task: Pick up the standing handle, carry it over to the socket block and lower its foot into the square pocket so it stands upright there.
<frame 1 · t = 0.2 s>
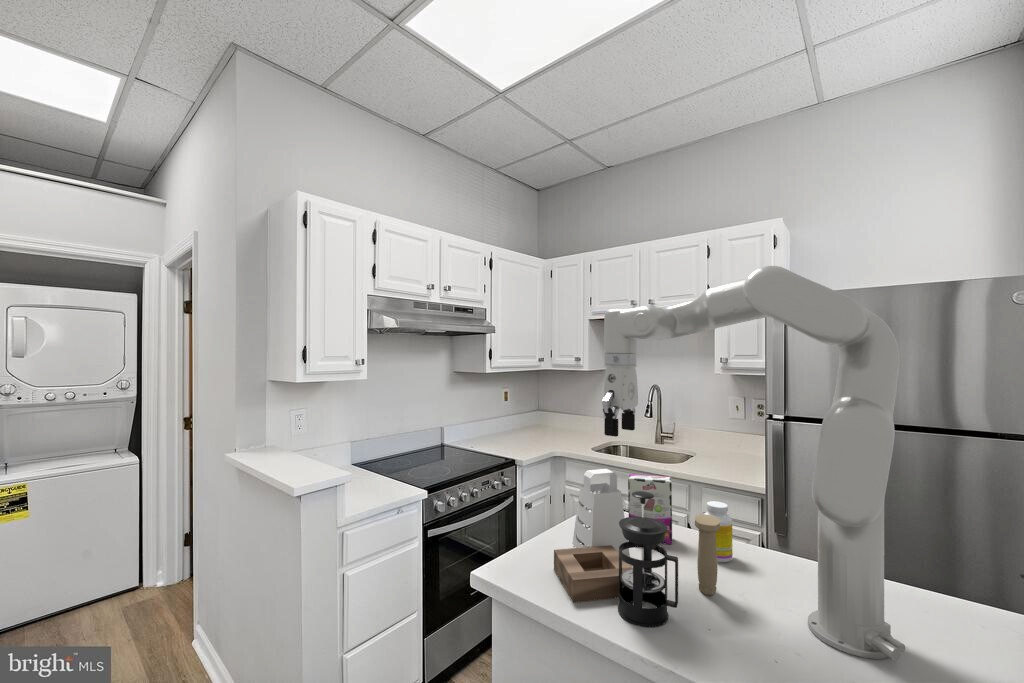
hand: (620, 432, 110), 31 cm above the worktop, tool pointing down, fingers open, 9 cm apart
grater: (600, 552, 115), on the worktop
candy bar box: (650, 539, 123), on the worktop
french press: (645, 614, 89), on the worktop
handle: (707, 592, 97), on the worktop
supplement bottle: (717, 558, 113), on the worktop
socket block: (593, 582, 100), on the worktop
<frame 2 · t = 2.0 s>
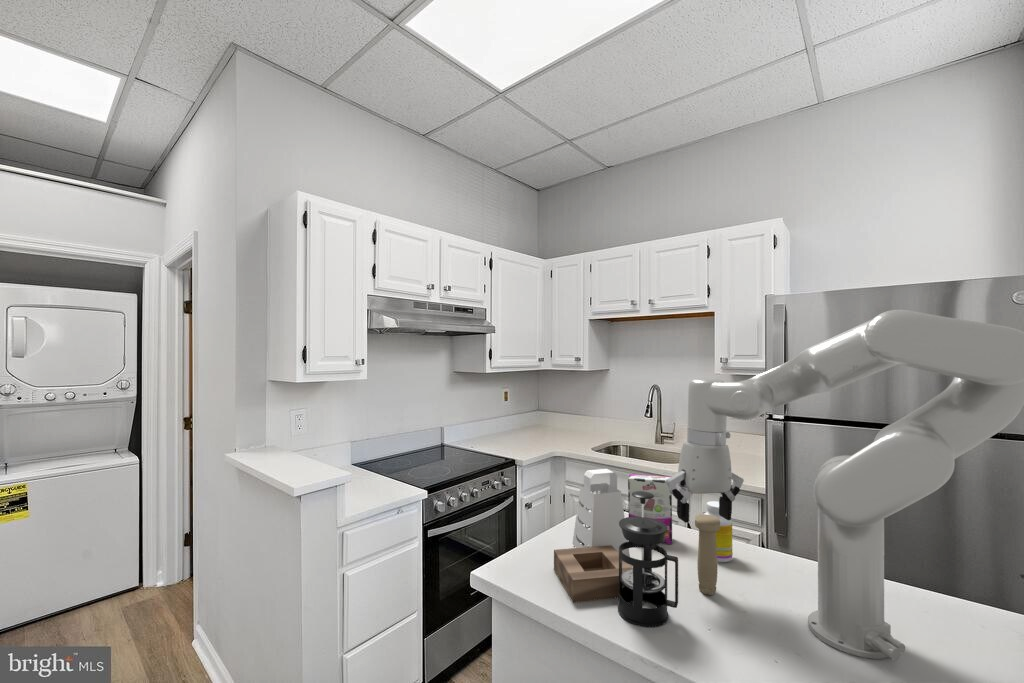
hand: (704, 518, 97), 15 cm above the worktop, tool pointing down, fingers open, 9 cm apart
nothing on the worktop moved.
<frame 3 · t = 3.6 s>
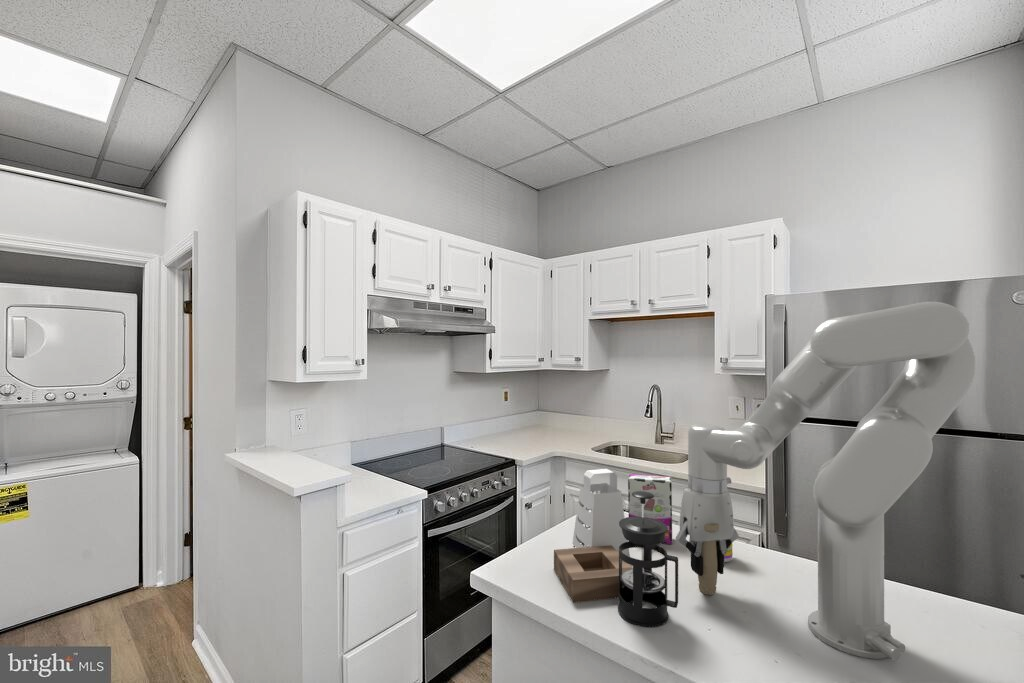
hand: (707, 571, 97), 4 cm above the worktop, tool pointing down, fingers closed on handle, 4 cm apart
handle: (707, 592, 97), on the worktop, touching gripper
everything else where it was.
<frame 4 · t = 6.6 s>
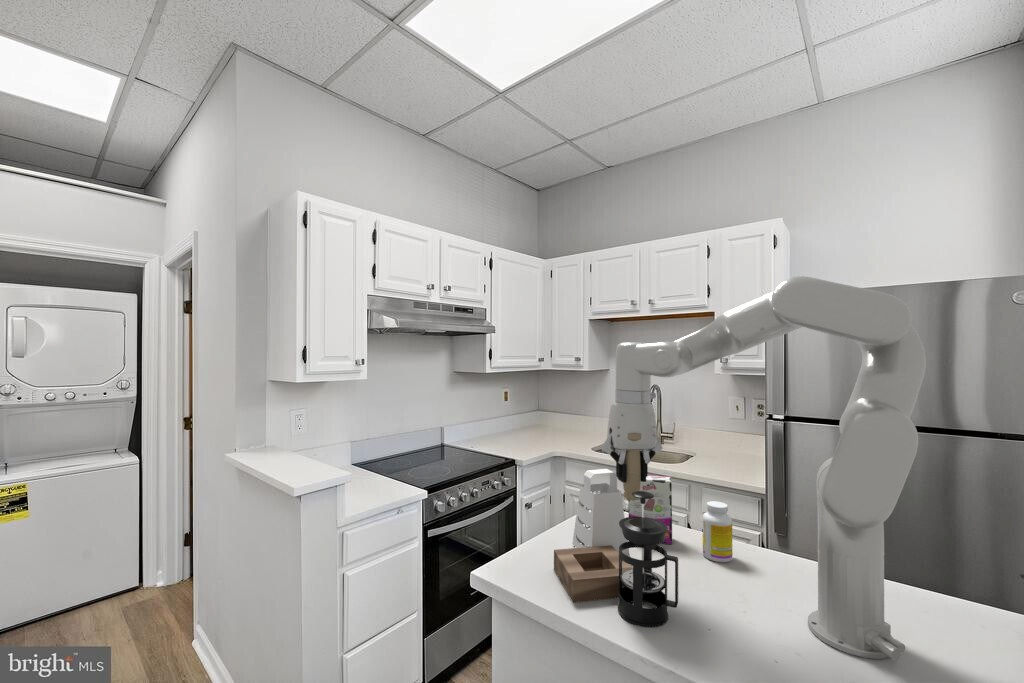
hand: (631, 479, 102), 22 cm above the worktop, tool pointing down, fingers closed on handle, 4 cm apart
handle: (631, 499, 102), point 17 cm above the worktop, touching gripper
everything else where it was.
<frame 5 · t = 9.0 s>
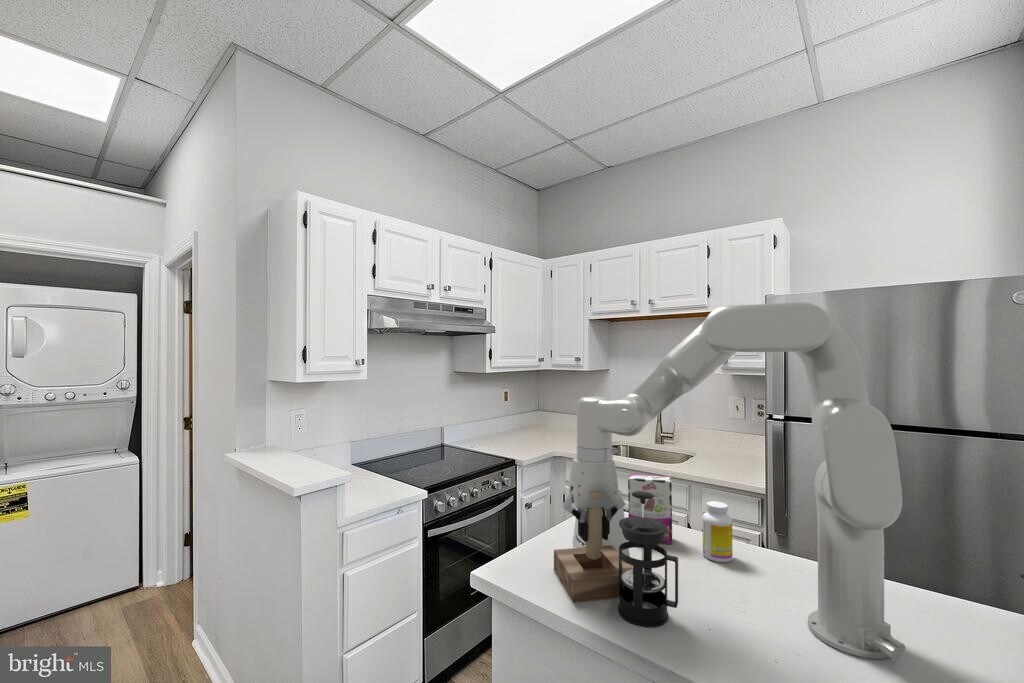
hand: (593, 537, 100), 10 cm above the worktop, tool pointing down, fingers closed on handle, 4 cm apart
handle: (593, 557, 100), point 5 cm above the worktop, touching gripper
everything else where it was.
when the fingers open (7 cm above the worktop, at t = 9.9 s): handle drops 1 cm, resting on socket block.
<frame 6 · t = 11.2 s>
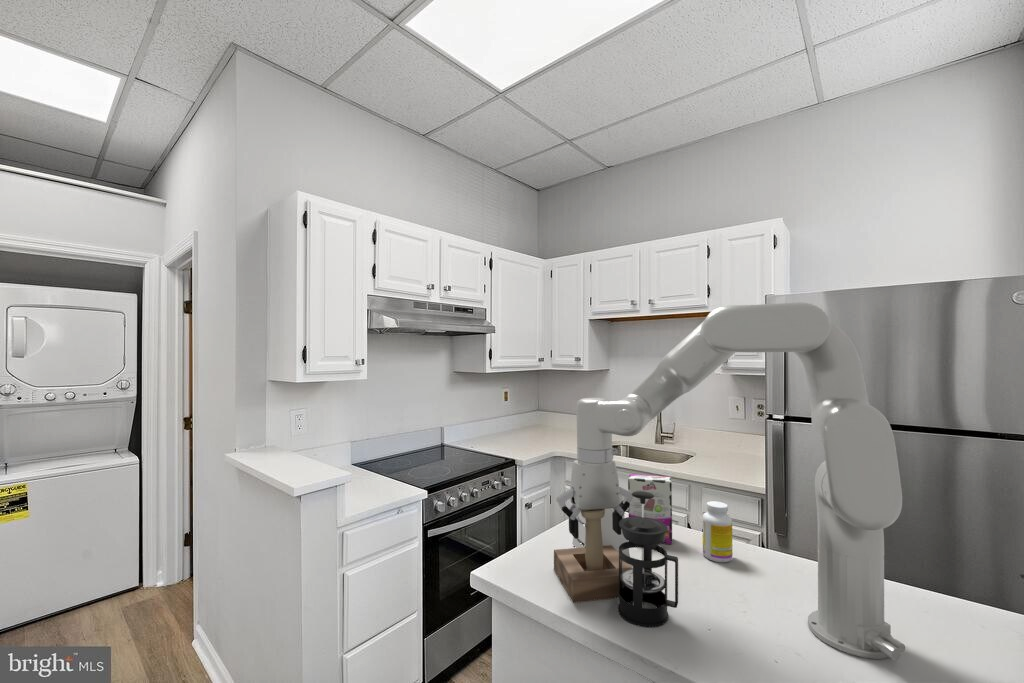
hand: (595, 534, 100), 10 cm above the worktop, tool pointing down, fingers open, 9 cm apart
handle: (594, 578, 100), point 1 cm above the worktop, touching socket block
everything else where it was.
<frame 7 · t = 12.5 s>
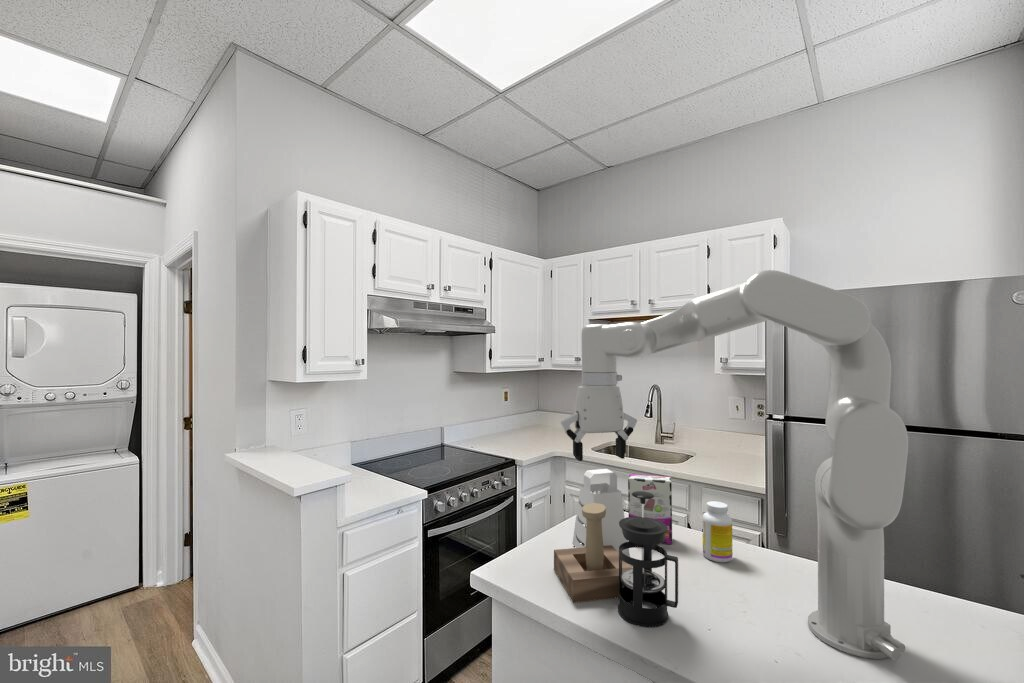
hand: (599, 458, 101), 27 cm above the worktop, tool pointing down, fingers open, 9 cm apart
nothing on the worktop moved.
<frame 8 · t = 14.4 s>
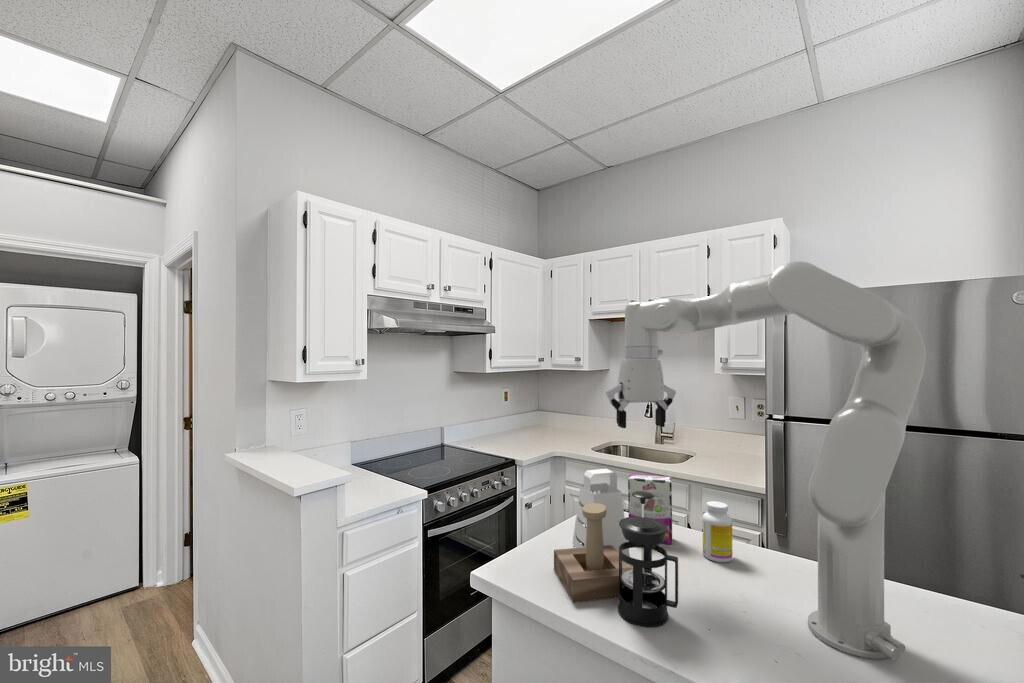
hand: (641, 426, 109), 32 cm above the worktop, tool pointing down, fingers open, 9 cm apart
nothing on the worktop moved.
at the end: handle 0.2 cm off-centre on the socket block, point 0.8 cm above the socket block's base; handle tilted 0°; the gripper is holding nothing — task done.
